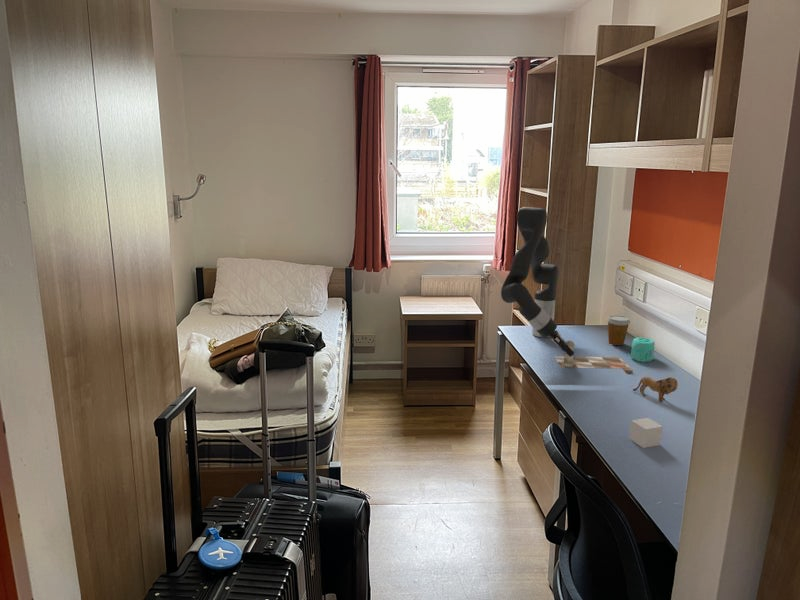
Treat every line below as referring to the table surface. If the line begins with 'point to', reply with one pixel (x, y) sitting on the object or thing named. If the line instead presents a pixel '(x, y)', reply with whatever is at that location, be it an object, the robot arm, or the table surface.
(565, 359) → the pawn
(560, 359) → the board
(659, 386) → the lion figurine
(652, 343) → the decorative dice
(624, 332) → the disposable coffee cup
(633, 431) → the beige cube
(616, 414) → the table surface
